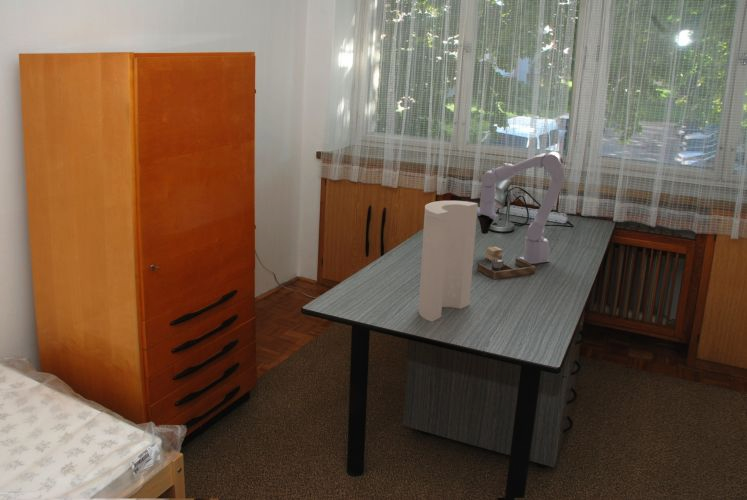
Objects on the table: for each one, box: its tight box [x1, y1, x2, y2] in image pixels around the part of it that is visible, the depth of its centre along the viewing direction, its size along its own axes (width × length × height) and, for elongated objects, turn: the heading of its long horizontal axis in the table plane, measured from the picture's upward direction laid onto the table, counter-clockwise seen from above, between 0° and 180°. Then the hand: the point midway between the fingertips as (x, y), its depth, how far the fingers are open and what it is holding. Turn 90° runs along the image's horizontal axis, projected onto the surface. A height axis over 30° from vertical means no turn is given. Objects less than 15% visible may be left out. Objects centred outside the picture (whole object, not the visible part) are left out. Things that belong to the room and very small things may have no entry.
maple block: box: [485, 246, 504, 262], centre depth 295 cm, size 4×4×4 cm
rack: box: [476, 257, 536, 280], centre depth 281 cm, size 19×11×2 cm, turn 117°
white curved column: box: [418, 200, 479, 323], centre depth 237 cm, size 35×11×21 cm
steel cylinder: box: [490, 258, 504, 272], centre depth 279 cm, size 4×4×5 cm
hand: (484, 233), depth 299 cm, fingers closed
